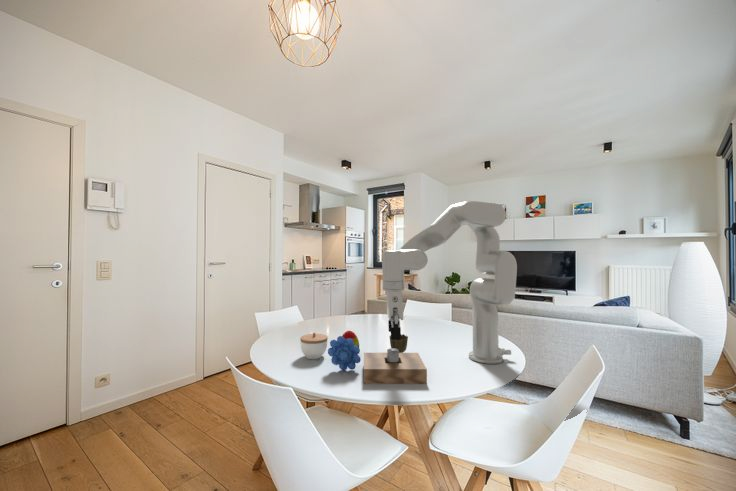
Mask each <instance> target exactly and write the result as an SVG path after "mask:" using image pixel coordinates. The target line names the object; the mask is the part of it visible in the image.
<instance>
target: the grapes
mask: <svg viewBox="0 0 736 491" xmlns="http://www.w3.org/2000/svg"><path fill="white" fill-rule="evenodd" d="M353 345H354V341H353V340H352V339H350V338H348V339H346V341H345V338H344V337H343V336H341V335H339V336H337V338H336V339H331V340H330V342H329V346H330V347H329V348H328V350H327V354H328V355H329V357H331V360H330V361H331V363H332V364H333V365H334V366H338V367H339V369H340V370H341V371H346V370H347V369H349V370H355V368H356V367H357V366H356V364H359V363H360V362H361V356H360V355H359V354H360V351H361V350H360V346H359V347H358V346H355V345H354V346H353Z"/></svg>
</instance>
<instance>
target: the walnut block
mask: <svg viewBox="0 0 736 491" xmlns="http://www.w3.org/2000/svg"><path fill="white" fill-rule="evenodd" d="M427 372H428V371H427V367H426V366H425V363H424V362H423V360H422V358H421V355H420V354H419V352H403V353H399V363H387V352H363V384H367V385H368V384H371V385H372V384H380V385H381V384H387V385H388V384H390V385H391V384H397V385H399V384H401V385H402V384H403V385H404V384H405V385H406V384H408V385H409V384H411V385H413V384H415V385H416V384H419V385H420V384H427V383H428V379H427V377H428V374H427Z"/></svg>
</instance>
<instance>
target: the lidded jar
mask: <svg viewBox="0 0 736 491" xmlns="http://www.w3.org/2000/svg"><path fill="white" fill-rule="evenodd" d="M328 338H329V337H328V336H327V334H323V333H316V332H312V333H309V334H304V335H302V336H300V338H299V339H300V348H301V352H302V354H303V355H304V356H305V358H306V359H309V360H317V359H321V358H322V356H323V355H324V354H325V352H326V351H327V348H328Z"/></svg>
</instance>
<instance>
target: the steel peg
mask: <svg viewBox="0 0 736 491" xmlns="http://www.w3.org/2000/svg"><path fill="white" fill-rule="evenodd" d="M386 353H387V363H399V350H398V349H395V348H391V347H390V348H387V350H386Z"/></svg>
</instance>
